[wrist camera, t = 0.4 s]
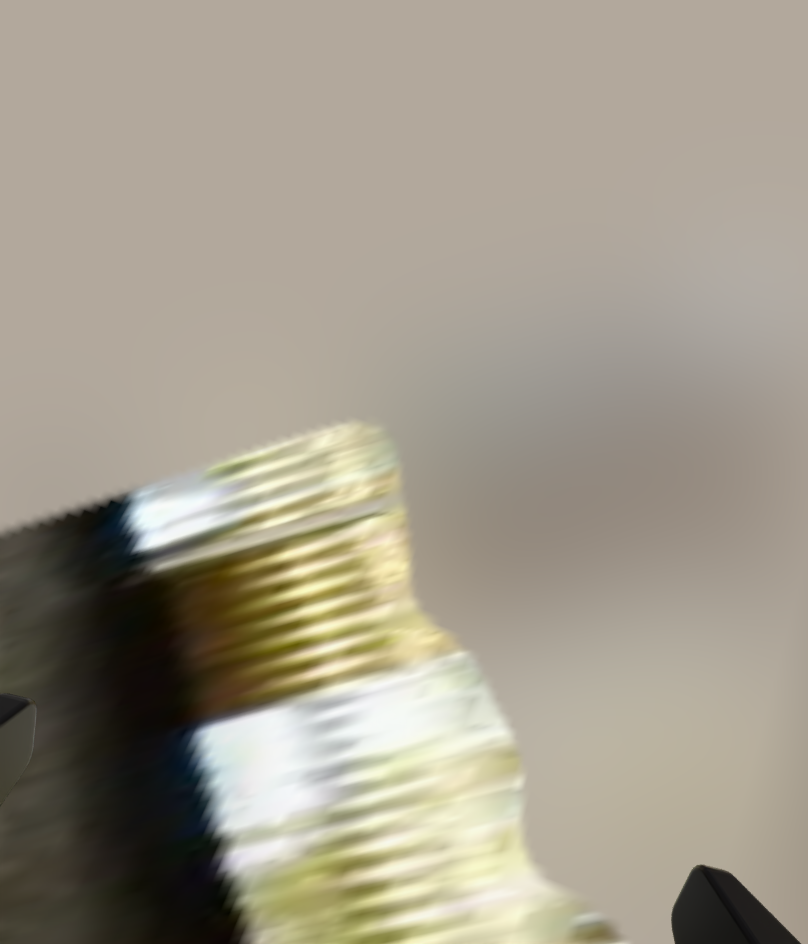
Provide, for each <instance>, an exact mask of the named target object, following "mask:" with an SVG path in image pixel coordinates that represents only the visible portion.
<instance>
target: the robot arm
mask: <svg viewBox="0 0 808 944" xmlns="http://www.w3.org/2000/svg"><path fill="white" fill-rule="evenodd" d="M36 712H37V707H36V704H35V702H34V701H33V700H31V699H29V698H24V697H20V696H16V695H12V694H6V693H4V694H0V806H1V804H2V803H3V802H4V800H5V799H6V797H7V796H8V794H9V793H10V791H11V790H12V788H13V787H14V785H15V784H16V782H17V781H18V779H19V778H20V776H21V775H22V773H23V772H24V770H25V769H26V767H27V765H28V763H29V761H30V758H31V755H32V752H33V744H34V734H35V723H36ZM671 921H672V931H673V936H674V941H675V944H801V943H800V942H799V941H798V940H797V939H796V938H795V937H794V936H793V935H792V934H791V933H790V932H789V931H788V930H787V929H786V928H785V927H784V926H783V925H782V924H781V923H780V922H779V921H778V920H777V919H776V918H775V917H774V916H773V915H772V914H771V913H770V912H769V911H768V910H767V909H766V908H765V907H764V906H763V905H762V904H761V903H760V902H759V901H758V900H757V899H756V898H755V897H754V896H753V895H752V894H751V893H750V892H749V891H748V890H747V889H746V888H745V887H744V886H743V885H742V884H741V883H740V882H739V881H738V880H737V879H736V878H735V877H734V876H733V875H732V874H731V873H729V872H727V871H725V870H722V869H718V868H714V867H710V866H706V865H697V866H695V867H694V868H693V869H692V870H691V872H690V874H689V876H688V878H687V880H686V882H685V884H684V886H683V888H682V890H681V892H680V894H679V896H678V898H677V900H676V902H675V904H674V907H673V911H672V917H671Z"/></svg>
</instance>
